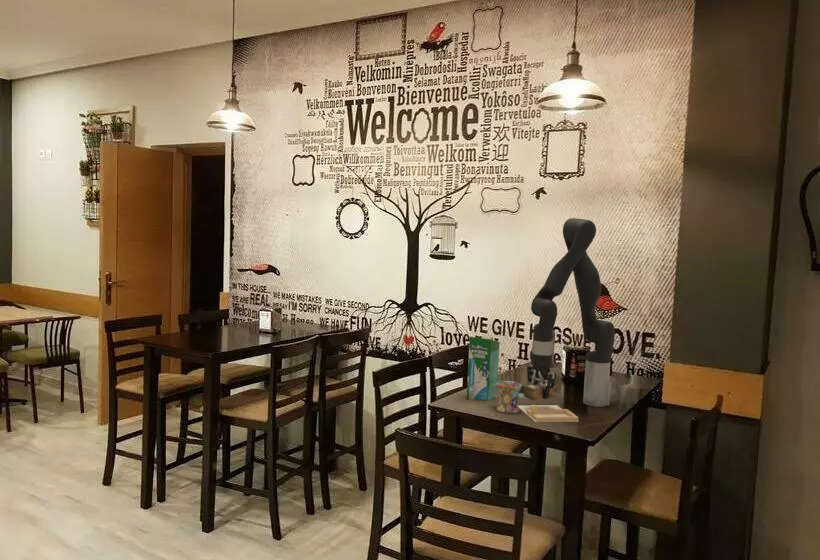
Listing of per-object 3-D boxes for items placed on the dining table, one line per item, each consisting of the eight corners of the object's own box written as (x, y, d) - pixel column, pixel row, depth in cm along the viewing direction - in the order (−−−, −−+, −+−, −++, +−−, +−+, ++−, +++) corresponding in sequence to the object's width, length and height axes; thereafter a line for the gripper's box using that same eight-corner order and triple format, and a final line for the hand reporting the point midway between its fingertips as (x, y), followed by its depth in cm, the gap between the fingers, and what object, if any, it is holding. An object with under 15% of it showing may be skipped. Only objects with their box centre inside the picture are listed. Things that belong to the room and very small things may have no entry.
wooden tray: (556, 407, 243) (557, 393, 243) (578, 424, 224) (579, 409, 223) (516, 408, 241) (517, 393, 240) (535, 424, 221) (536, 409, 220)
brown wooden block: (546, 393, 242) (547, 382, 242) (556, 397, 237) (557, 385, 237) (523, 396, 237) (524, 385, 236) (533, 400, 232) (533, 389, 232)
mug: (524, 412, 236) (526, 384, 235) (513, 417, 228) (514, 388, 227) (496, 405, 243) (497, 378, 242) (484, 410, 236) (485, 382, 235)
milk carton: (496, 398, 253) (500, 336, 251) (487, 403, 246) (490, 339, 243) (475, 394, 258) (479, 333, 256) (466, 399, 250) (469, 336, 248)
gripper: (521, 349, 240) (520, 393, 242) (547, 357, 227) (545, 403, 229) (537, 347, 243) (535, 390, 245) (563, 355, 231) (561, 400, 233)
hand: (540, 396), depth 237 cm, fingers closed on brown wooden block, 5 cm apart
